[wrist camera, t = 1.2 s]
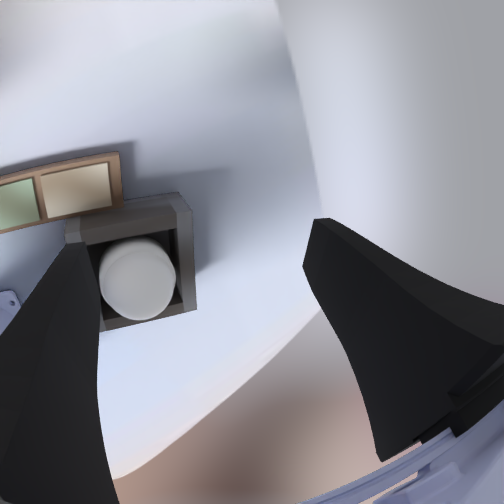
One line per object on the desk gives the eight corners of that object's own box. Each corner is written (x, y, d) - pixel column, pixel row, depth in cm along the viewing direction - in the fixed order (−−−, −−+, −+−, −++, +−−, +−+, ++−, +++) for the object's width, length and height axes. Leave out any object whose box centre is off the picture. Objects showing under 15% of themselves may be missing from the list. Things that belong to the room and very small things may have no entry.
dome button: (170, 285, 23) (188, 326, 19) (106, 299, 21) (113, 345, 17) (164, 225, 20) (183, 261, 17) (91, 239, 18) (93, 280, 15)
